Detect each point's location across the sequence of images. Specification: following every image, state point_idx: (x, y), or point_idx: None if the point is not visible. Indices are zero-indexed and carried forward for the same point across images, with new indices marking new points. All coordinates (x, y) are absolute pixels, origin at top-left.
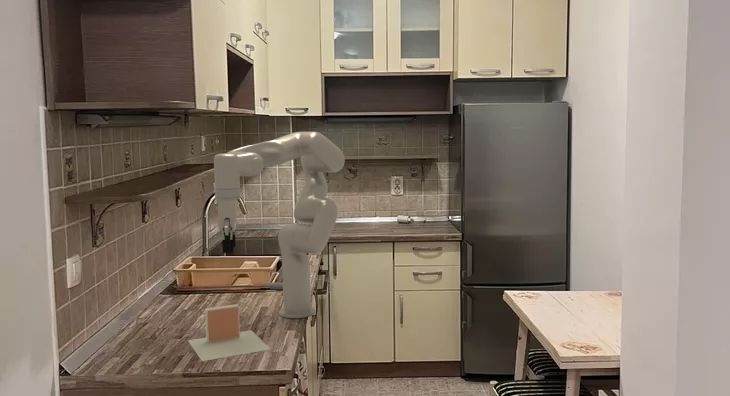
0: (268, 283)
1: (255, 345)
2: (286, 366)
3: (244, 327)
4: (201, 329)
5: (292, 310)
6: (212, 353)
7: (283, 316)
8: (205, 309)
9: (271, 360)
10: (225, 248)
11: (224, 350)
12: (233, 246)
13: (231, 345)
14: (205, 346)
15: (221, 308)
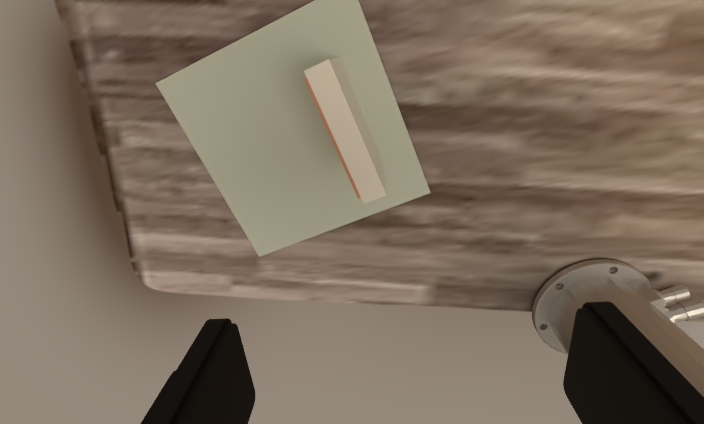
0: None
1: (288, 217)
2: (163, 290)
3: (485, 163)
4: (500, 3)
5: (560, 308)
6: (220, 103)
7: (559, 273)
8: (318, 64)
9: (197, 258)
10: (167, 383)
11: (246, 136)
12: (564, 378)
13: (290, 150)
14: (283, 67)
15: (333, 136)
